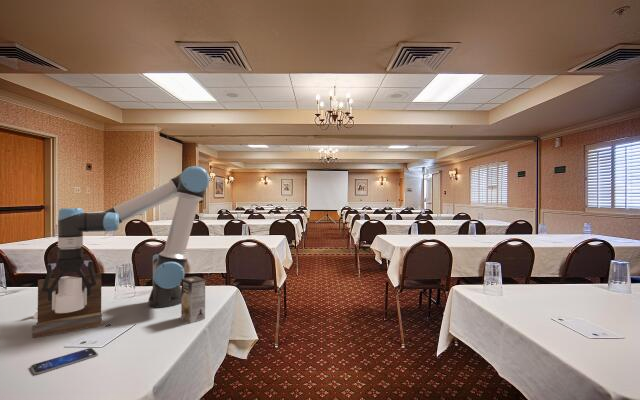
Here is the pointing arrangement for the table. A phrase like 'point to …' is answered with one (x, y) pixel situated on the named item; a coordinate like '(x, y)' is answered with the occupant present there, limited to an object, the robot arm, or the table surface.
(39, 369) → the smartphone
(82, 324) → the wooden arch stand
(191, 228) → the robot arm
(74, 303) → the white stepped block
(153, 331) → the table surface
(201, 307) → the coffee box
